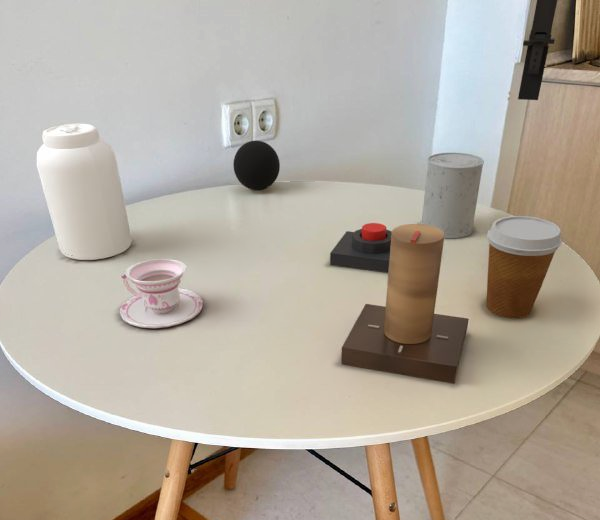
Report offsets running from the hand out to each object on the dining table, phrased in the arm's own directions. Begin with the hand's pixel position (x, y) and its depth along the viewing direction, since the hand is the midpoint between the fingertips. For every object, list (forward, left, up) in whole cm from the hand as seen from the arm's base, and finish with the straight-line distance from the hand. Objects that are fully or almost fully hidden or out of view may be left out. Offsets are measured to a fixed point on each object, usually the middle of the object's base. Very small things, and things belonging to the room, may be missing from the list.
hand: (528, 98), depth 84 cm
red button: (+20, +5, -21) cm, 29 cm away
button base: (+20, +5, -24) cm, 32 cm away
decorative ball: (+53, -24, -25) cm, 63 cm away
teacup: (+45, +32, -25) cm, 60 cm away
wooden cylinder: (+9, +32, -22) cm, 40 cm away
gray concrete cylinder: (+10, -12, -25) cm, 29 cm away
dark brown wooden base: (+9, +32, -24) cm, 41 cm away
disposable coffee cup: (-3, +17, -25) cm, 30 cm away
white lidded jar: (+68, +15, -25) cm, 74 cm away
